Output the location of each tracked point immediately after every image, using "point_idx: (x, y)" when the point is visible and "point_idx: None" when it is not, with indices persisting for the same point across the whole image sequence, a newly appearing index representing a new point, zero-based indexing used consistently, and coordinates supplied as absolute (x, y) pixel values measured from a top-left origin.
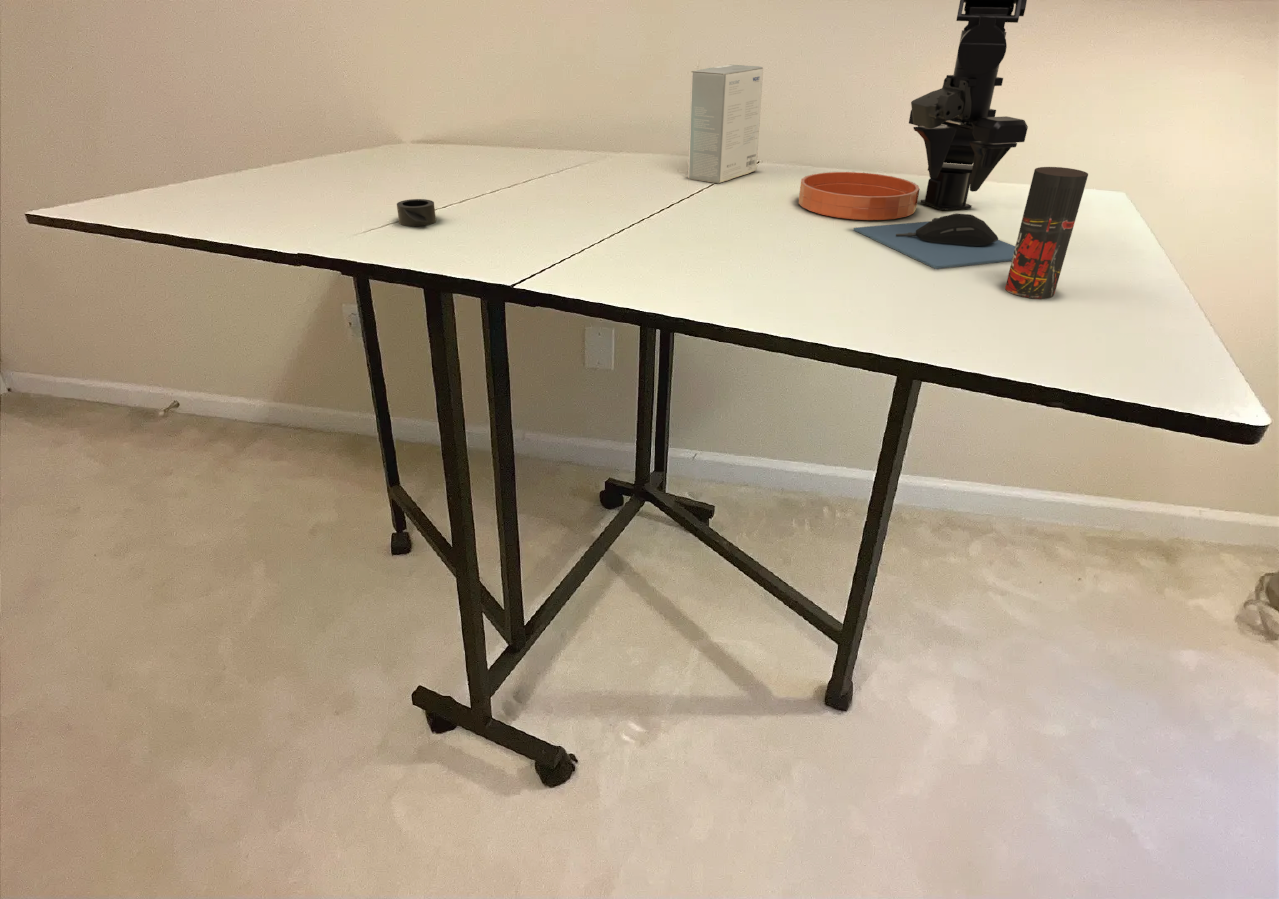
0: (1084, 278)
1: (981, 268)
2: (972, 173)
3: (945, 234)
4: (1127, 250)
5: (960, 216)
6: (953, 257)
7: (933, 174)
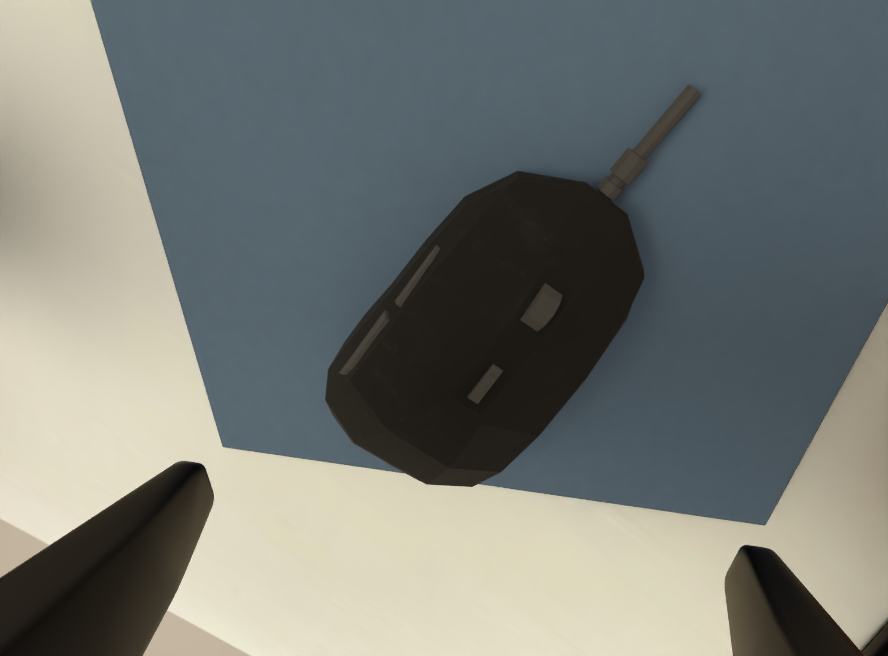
0: (22, 399)
1: (103, 164)
2: (68, 575)
3: (419, 261)
4: (274, 637)
5: (429, 400)
6: (218, 125)
7: (748, 585)
